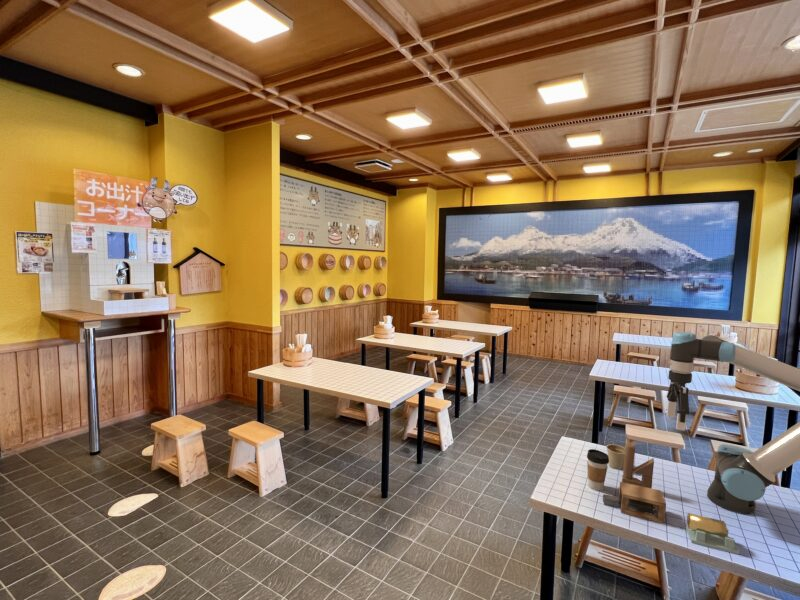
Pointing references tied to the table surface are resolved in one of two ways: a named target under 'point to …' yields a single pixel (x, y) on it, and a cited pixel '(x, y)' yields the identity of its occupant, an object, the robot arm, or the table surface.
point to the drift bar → (632, 504)
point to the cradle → (712, 540)
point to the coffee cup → (597, 469)
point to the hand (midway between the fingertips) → (675, 423)
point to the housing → (643, 495)
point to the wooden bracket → (637, 469)
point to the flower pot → (616, 456)
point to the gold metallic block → (707, 525)
